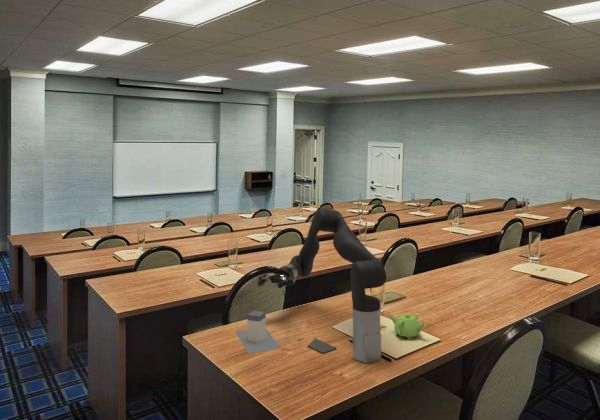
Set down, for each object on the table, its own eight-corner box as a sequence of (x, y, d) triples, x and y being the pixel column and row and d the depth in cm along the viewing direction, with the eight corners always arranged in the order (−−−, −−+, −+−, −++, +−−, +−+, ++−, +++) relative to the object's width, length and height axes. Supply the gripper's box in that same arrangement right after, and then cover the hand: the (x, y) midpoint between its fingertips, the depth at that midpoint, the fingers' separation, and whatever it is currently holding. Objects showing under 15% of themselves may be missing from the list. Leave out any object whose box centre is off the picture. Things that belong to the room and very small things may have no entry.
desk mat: (281, 349, 169) (281, 347, 169) (248, 354, 165) (248, 353, 165) (264, 328, 189) (264, 327, 189) (235, 333, 185) (235, 331, 185)
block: (266, 337, 178) (265, 312, 177) (260, 342, 174) (259, 316, 173) (254, 336, 180) (253, 310, 179) (248, 340, 176) (247, 314, 175)
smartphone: (323, 353, 164) (296, 340, 176) (323, 355, 164) (296, 342, 176) (337, 347, 168) (310, 335, 180) (337, 350, 169) (310, 337, 180)
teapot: (395, 341, 174) (395, 319, 173) (389, 330, 185) (389, 309, 185) (426, 341, 174) (426, 318, 173) (417, 329, 186) (417, 308, 185)
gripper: (270, 264, 203) (252, 273, 188) (301, 267, 197) (285, 277, 182) (271, 281, 203) (253, 292, 189) (301, 285, 198) (285, 295, 183)
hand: (269, 284), depth 185 cm, fingers open, 8 cm apart
